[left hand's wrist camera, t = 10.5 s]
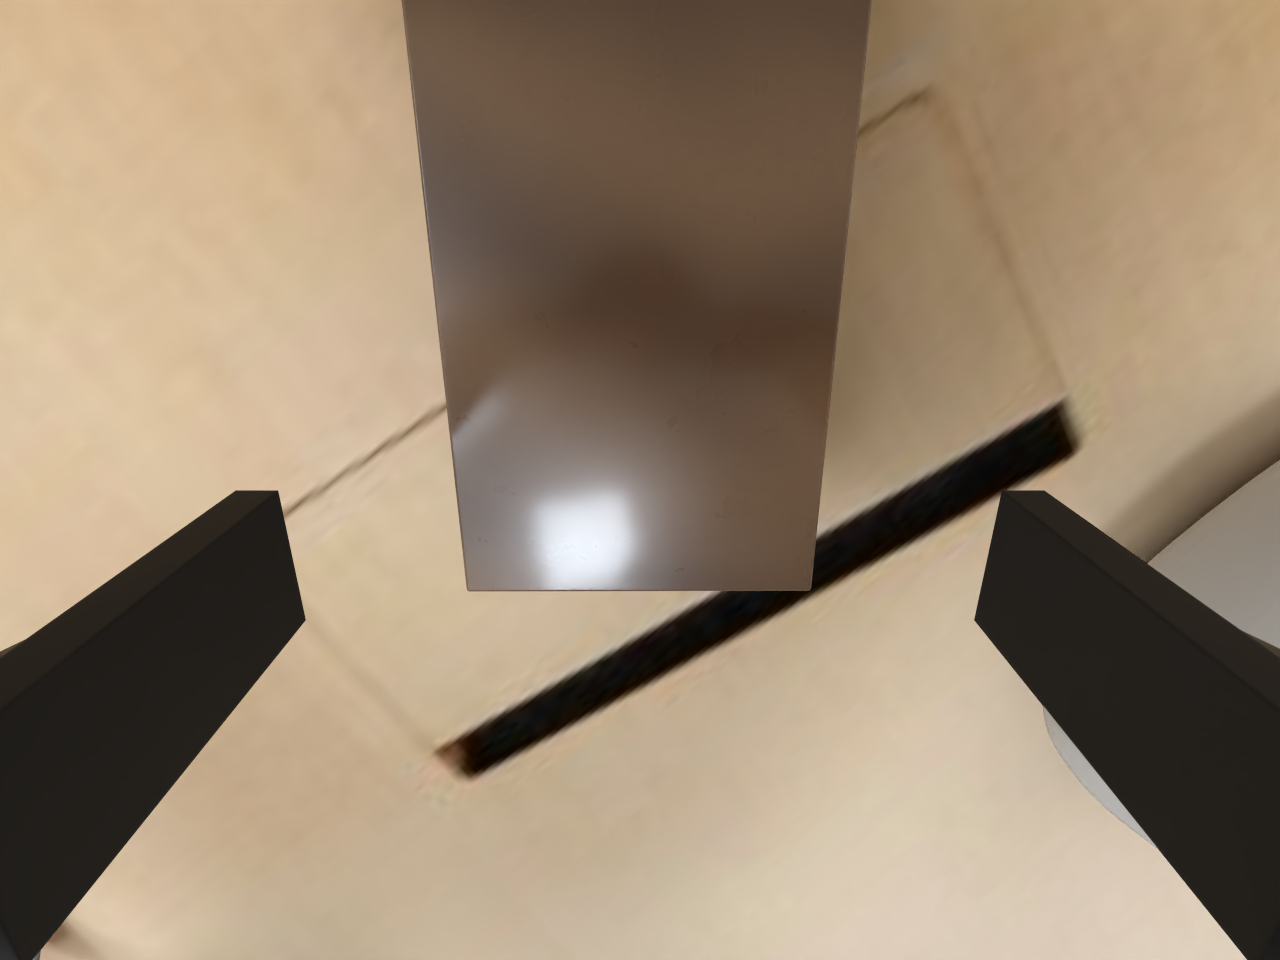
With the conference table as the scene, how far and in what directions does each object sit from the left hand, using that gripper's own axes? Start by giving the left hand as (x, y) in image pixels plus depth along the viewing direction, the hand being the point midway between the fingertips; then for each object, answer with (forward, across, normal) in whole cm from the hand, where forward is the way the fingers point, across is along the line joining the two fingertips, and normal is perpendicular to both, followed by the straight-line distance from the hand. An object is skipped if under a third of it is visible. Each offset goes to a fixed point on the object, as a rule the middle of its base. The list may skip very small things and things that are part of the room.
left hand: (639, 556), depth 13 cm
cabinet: (+15, 0, -5) cm, 16 cm away
